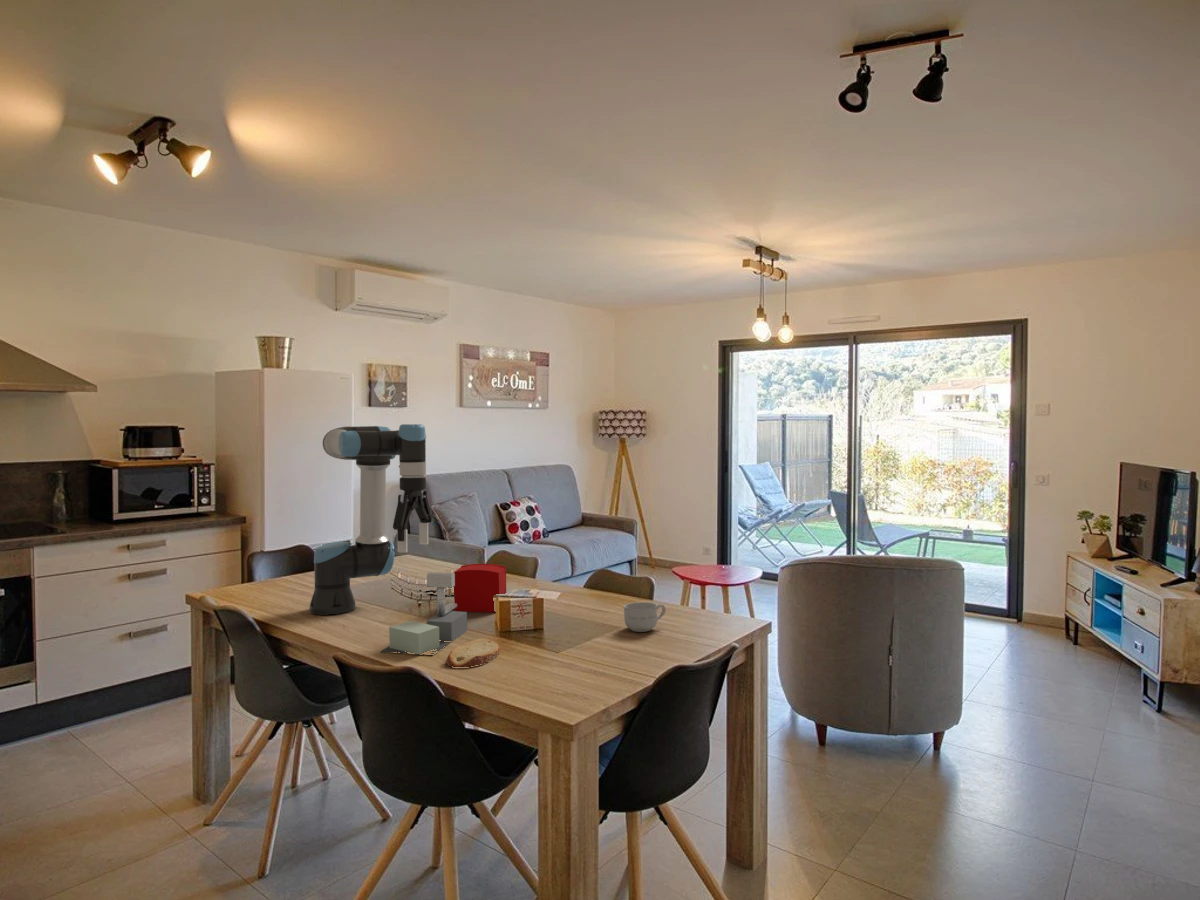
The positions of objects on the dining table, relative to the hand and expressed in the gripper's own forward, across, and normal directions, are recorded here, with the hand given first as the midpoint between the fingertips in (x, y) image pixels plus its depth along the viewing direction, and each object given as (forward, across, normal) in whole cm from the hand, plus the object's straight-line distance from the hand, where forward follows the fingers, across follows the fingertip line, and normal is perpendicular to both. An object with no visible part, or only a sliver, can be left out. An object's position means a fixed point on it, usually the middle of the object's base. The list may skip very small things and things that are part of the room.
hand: (413, 548), depth 210 cm
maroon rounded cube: (+29, -43, +4) cm, 52 cm away
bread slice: (+29, +7, +21) cm, 37 cm away
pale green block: (+28, +4, +2) cm, 29 cm away
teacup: (+29, -29, +65) cm, 77 cm away
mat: (+29, +3, +2) cm, 29 cm away
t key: (+22, -14, +4) cm, 27 cm away
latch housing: (+29, -10, +6) cm, 31 cm away
